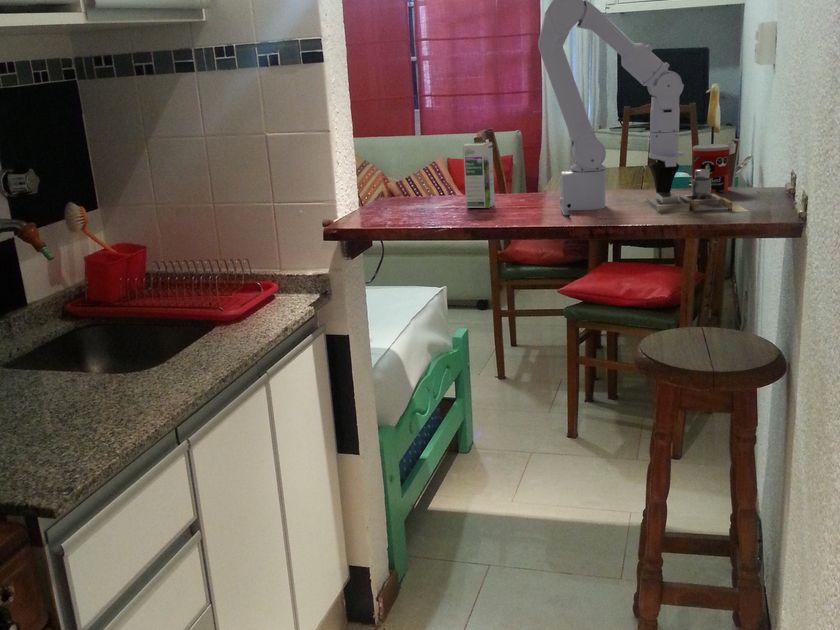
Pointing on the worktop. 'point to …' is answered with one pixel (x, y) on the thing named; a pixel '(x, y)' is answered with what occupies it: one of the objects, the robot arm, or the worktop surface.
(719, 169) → the canned food
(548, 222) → the worktop surface
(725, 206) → the socket board
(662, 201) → the gray rectangular block
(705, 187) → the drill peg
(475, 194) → the syrup box
